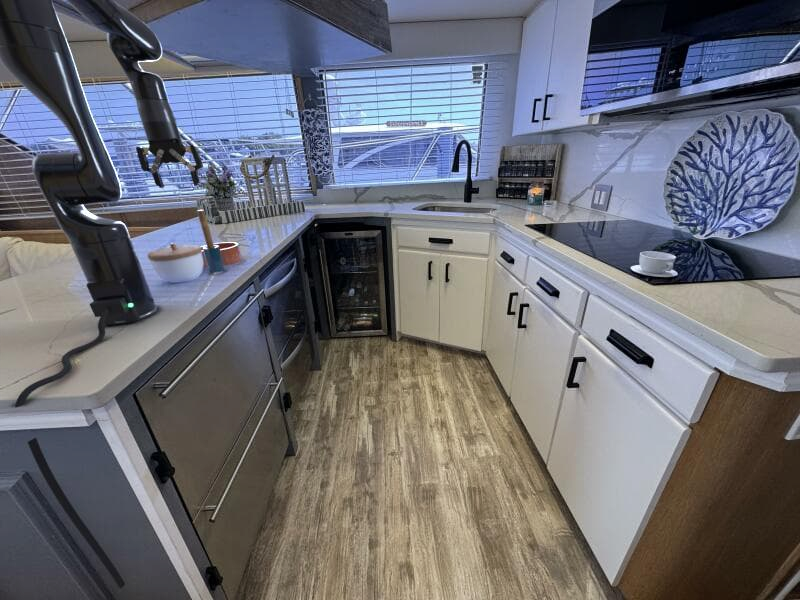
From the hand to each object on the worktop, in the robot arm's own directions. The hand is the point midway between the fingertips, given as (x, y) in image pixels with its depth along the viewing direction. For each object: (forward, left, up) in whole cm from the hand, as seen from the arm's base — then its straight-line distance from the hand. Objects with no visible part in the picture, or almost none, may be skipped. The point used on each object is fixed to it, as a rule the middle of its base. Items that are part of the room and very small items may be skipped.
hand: (179, 186), depth 91 cm
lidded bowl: (-8, +3, -26) cm, 27 cm away
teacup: (-46, -121, -26) cm, 132 cm away
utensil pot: (-2, -4, -25) cm, 26 cm away
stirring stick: (-2, -4, -25) cm, 25 cm away
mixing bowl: (+8, -3, -25) cm, 27 cm away
